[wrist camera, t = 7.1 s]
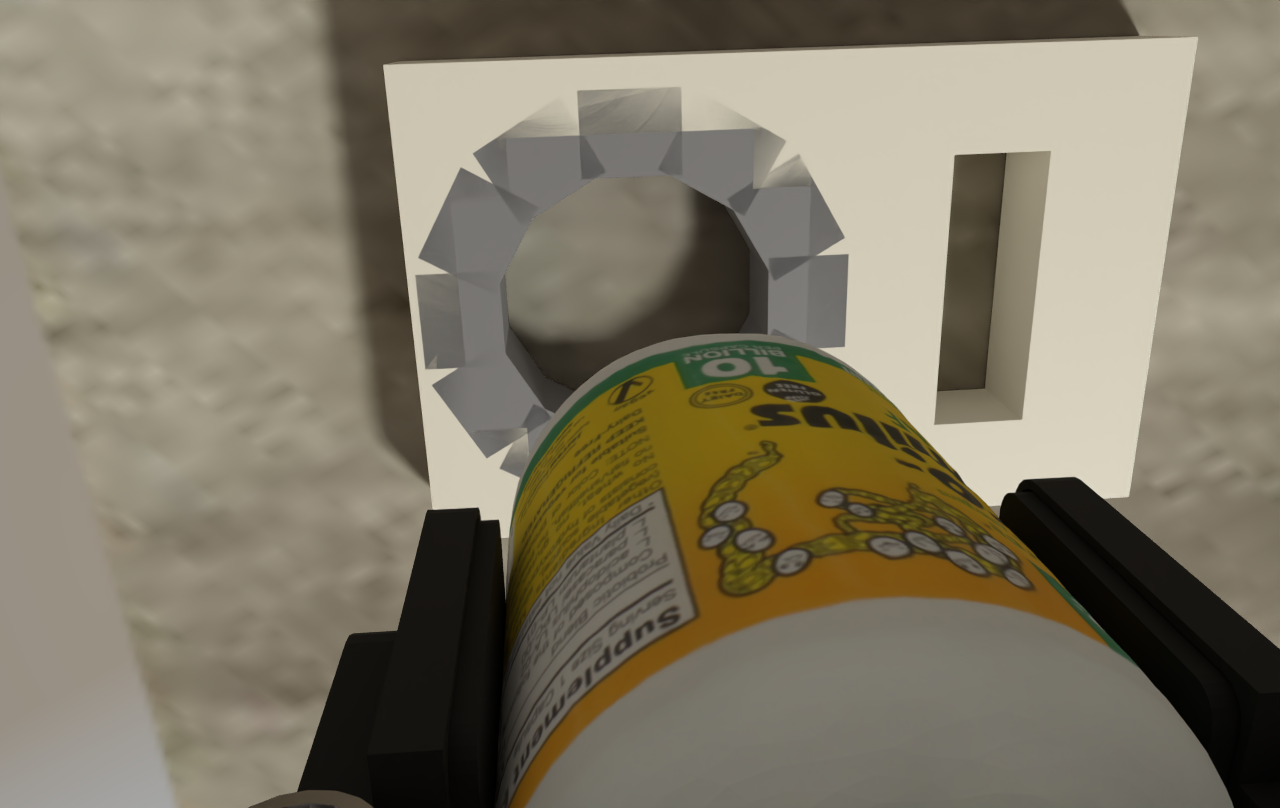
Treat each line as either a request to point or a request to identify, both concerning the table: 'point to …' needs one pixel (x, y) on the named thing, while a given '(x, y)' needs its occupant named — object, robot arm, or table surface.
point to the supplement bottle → (798, 612)
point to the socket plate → (815, 228)
